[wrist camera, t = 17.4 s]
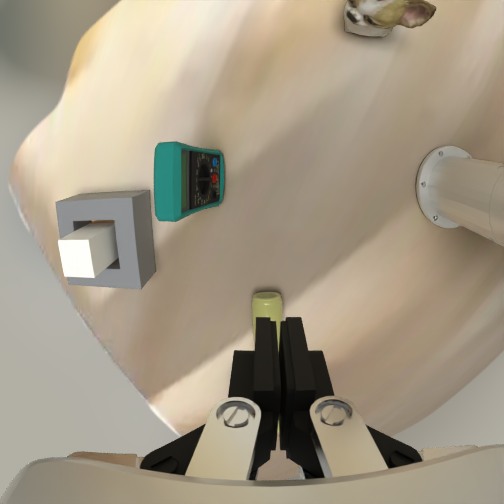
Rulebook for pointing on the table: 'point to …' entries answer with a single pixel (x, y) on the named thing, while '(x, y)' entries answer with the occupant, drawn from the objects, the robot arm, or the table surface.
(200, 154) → the digital multimeter
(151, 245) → the socket
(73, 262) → the plug
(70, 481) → the robot arm
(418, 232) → the table surface
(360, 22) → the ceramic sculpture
